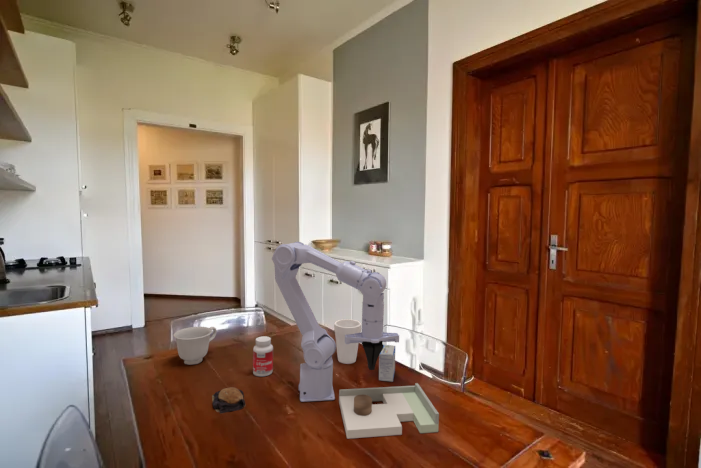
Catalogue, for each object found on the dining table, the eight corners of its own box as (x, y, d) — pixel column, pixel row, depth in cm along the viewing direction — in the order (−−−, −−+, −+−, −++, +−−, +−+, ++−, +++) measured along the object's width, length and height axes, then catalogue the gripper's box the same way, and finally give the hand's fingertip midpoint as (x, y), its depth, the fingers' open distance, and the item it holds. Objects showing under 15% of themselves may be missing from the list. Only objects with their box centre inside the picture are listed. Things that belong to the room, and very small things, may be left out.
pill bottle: (254, 378, 109) (254, 343, 109) (251, 370, 115) (251, 336, 114) (274, 375, 112) (275, 340, 111) (271, 367, 117) (271, 334, 117)
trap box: (347, 438, 82) (347, 419, 81) (338, 401, 97) (339, 385, 97) (438, 431, 85) (439, 413, 85) (416, 397, 100) (417, 382, 100)
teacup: (226, 356, 125) (226, 328, 124) (187, 372, 112) (187, 341, 112) (205, 348, 131) (205, 322, 131) (166, 362, 119) (165, 333, 118)
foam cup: (365, 359, 125) (366, 323, 124) (348, 368, 118) (349, 329, 117) (345, 352, 131) (346, 317, 130) (328, 359, 124) (328, 323, 123)
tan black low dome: (210, 397, 99) (210, 384, 99) (241, 391, 103) (241, 378, 103) (214, 417, 90) (214, 403, 89) (248, 409, 93) (248, 396, 93)
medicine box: (392, 382, 109) (393, 354, 108) (378, 380, 110) (379, 353, 109) (394, 371, 117) (395, 345, 116) (381, 369, 118) (382, 344, 117)
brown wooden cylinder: (355, 416, 87) (355, 404, 87) (352, 406, 92) (352, 395, 91) (373, 415, 88) (373, 403, 88) (369, 405, 92) (369, 394, 92)
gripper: (348, 324, 90) (346, 376, 91) (403, 323, 92) (401, 373, 93) (344, 316, 97) (342, 364, 98) (395, 314, 99) (394, 362, 100)
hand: (371, 368), depth 96 cm, fingers closed
